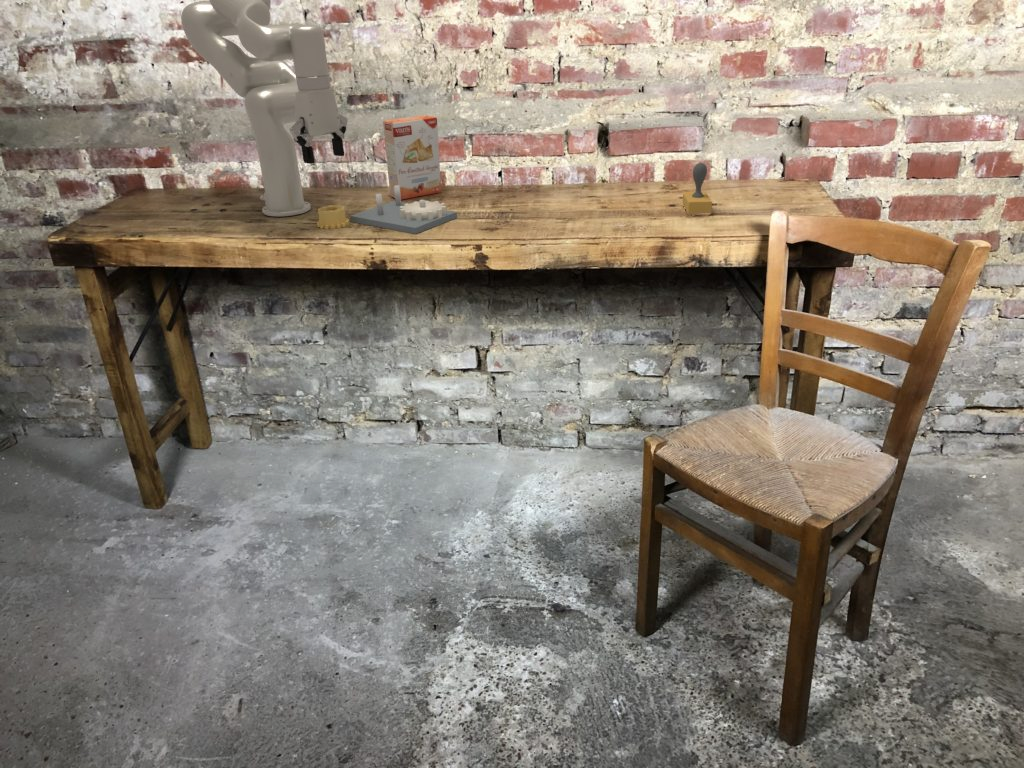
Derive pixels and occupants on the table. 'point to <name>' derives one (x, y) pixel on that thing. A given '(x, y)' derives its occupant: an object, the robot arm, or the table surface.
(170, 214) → the table surface
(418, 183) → the cracker box
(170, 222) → the table surface
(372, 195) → the table surface
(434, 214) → the gear board
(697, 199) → the rubber stamp
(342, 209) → the gear
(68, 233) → the table surface
